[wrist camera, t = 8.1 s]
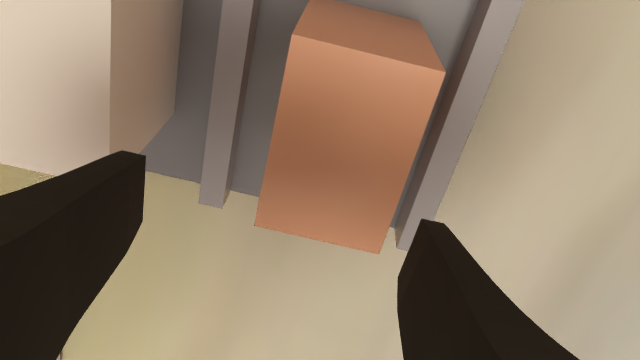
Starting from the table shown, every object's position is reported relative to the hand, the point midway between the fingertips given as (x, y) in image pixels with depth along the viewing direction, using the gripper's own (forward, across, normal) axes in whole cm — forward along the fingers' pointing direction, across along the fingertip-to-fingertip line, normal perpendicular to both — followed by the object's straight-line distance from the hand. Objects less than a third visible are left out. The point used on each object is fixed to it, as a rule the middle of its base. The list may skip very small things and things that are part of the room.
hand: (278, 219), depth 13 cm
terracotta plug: (+8, -1, -1) cm, 8 cm away
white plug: (+8, +7, -2) cm, 11 cm away
